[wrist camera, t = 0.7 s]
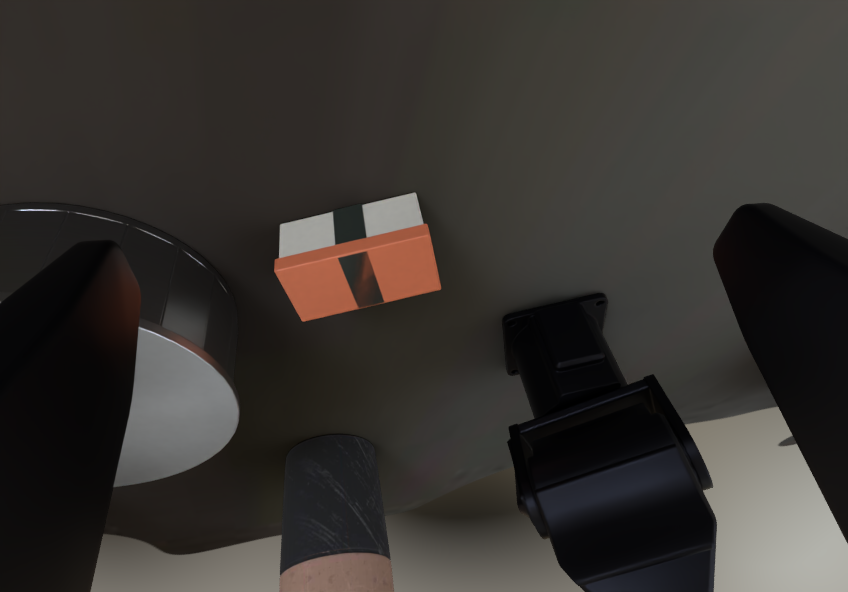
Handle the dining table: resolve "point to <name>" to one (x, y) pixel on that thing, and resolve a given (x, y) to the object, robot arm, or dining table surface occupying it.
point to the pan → (150, 263)
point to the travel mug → (334, 519)
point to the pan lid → (174, 407)
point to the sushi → (356, 257)
